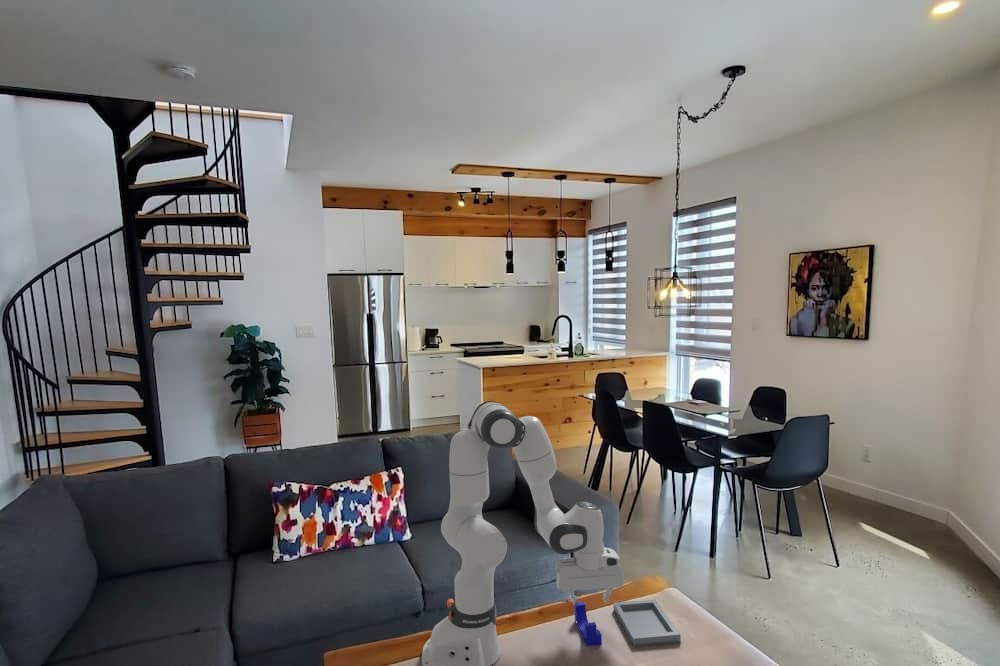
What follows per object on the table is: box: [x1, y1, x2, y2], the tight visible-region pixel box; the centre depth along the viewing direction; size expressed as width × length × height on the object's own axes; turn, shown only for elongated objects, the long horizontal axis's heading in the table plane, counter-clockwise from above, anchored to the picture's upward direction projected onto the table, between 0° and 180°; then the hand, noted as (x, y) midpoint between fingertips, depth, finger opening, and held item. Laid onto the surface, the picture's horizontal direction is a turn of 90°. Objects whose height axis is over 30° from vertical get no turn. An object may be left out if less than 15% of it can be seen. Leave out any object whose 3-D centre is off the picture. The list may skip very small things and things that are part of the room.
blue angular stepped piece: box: [574, 601, 603, 647], centre depth 147 cm, size 12×4×6 cm, turn 7°
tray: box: [613, 599, 682, 648], centre depth 149 cm, size 14×18×2 cm
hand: (590, 601), depth 147 cm, fingers open, 8 cm apart
